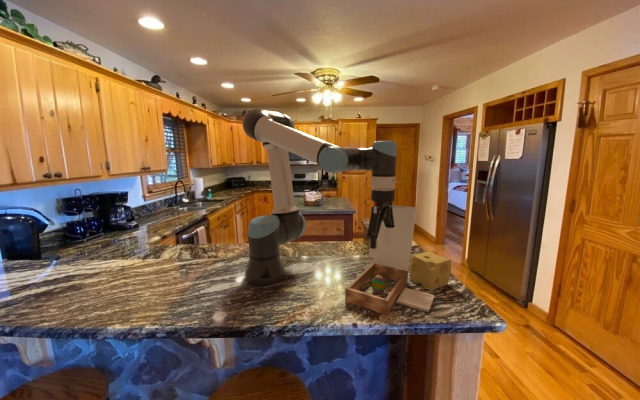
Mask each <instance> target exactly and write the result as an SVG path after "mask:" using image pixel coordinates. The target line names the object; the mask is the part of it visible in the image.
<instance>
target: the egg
mask: <svg viewBox="0 0 640 400" xmlns="http://www.w3.org/2000/svg"><path fill="white" fill-rule="evenodd" d="M386 286H387V284H386V280H385V278H383V277H382V276H381V275H377V276H375V275H374V277H372V280H371V289H372V291H373V292H374V293H375V294H378V295H379V294H383V293H384V292H385V291H386V289H387V287H386Z"/></svg>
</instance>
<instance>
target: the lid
mask: <svg viewBox="0 0 640 400" xmlns="http://www.w3.org/2000/svg"><path fill="white" fill-rule="evenodd" d="M392 210H393V218H394V225H395V227H394V228H392V238H391V246H387V245H383V237H384V227H385V225H384V221H382V223H381V227H380V231H379V234H378V238H379V248H378V258H372V262H371V264H372V263H375V264H379V265H383V266H387V267H393V268H396V269H400V270H405V271H408V272H410V259H411V256H412V254H411V253H412V245H413V238H414V229H415V222H416V213H417V206H405V205H396V204H392Z"/></svg>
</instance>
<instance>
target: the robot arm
mask: <svg viewBox="0 0 640 400" xmlns="http://www.w3.org/2000/svg"><path fill="white" fill-rule="evenodd" d="M242 128H243V129H242V130H243V131H244V133H245V134H246V135H247V137H248V138H250V139H252V140H255V141H257V142H259V143H262V144H261V145H262V148H264V149H265V150H266V152H267V160H268V167H269V176H270V183H271V190H272V198H273V206H274V207H273V209H272V211H271V214H265V215H258V216H255V217H254V218H252V219H250V220H249V222H248V226H247V228H248V229H247V238H248V255H249V256H248V257H249V259H248V262H247V265H246V269H245V277H244V278H245V281H246V282H247V283H249V284H250V285H254V286H255V285H256V286H268V285H269V286H270V285H273V284H276V283H279V282H281V281H282V280H283V279H284V278H285V274H286V273H285V271H286V270H285V267H284V265H283V261H282V258H281V253H280V252H281V249H280V248H281V246H283V245H285V244H288V243H289V242H293V241H296V240H297V239H299V238H301V237H302V236H303V235H304V234H305V230H306V226H307V222H306V219H305V217H304V216H303V215H302V213H300V208H299V207H297V206H296V205H295V197H294V189H293V181H292V174H291V173H292V171H291V163H290V155H289V153H291V154H294V155H296V156H298V157H301V158H303V159H304V160H307V161H309V162H312V163H314V164H316V165H318V166H320V168H321V169H322V170H323V171H324V172H326V173H330V174H331V173H332V174H338V173H343V172H352V171H354V172H355V171H370V172H371V184H370V185H371V186H370V188H371V189H372V190H371V194H370V198H371V199H370V200H371V201H372V202H375V206H373V205H372V206H371V210H370V211H371V212H370V219H369V223H368V229H367V234H366V238H368V239H369V250H368V252H369V254H368V256H369V258H372V259H373V258H378V248H379V238H378V234H379V231H380V227H381V223H382V221H384V225H385V227H384V237H383V245H387V246H391V238H392V228H394V227H395V225H394V218H393V210H392V205H393V202H394V201H395V194H396V192H395V188H396V183H397V181H398V179H396V171H397V170H396V169H397V157H398V153H397V143H396V142H395V141H393V140H376V141H373V143H372V146H371V147H346V146H345V147H344V146H343V147H342V146H338V145H336V144H333V143H330V142H328V141H326V140H323V139H320V138H319V137H315V136H313V135H310V134H307V133H306V132H302V131H301V130H300V131H299V130H298V129H296V128H295V123H294V121H293V120H292V118H291V117H290V116H289V115H287V114H285V113H283V112H279V111H272V110H268V109H263V108H254V109H253V108H252V109H250V110H248V111H247V112H246V113H245V115H244V116H243V119H242Z"/></svg>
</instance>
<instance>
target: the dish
mask: <svg viewBox="0 0 640 400" xmlns="http://www.w3.org/2000/svg"><path fill="white" fill-rule="evenodd" d="M434 299H435V294H430V293H427V292H423V291H420V290H416V289H412V288H408V287H404V289H403V290H402V292H401V294H400V295H399V297H398V298H397V300H396V303H397V304H400V305H403V306H406V307H409V308H410V307H411V308H412V309H416V310H420V311H422V312H426V313H430V310H431V308H432V305H433V303H434Z"/></svg>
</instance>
